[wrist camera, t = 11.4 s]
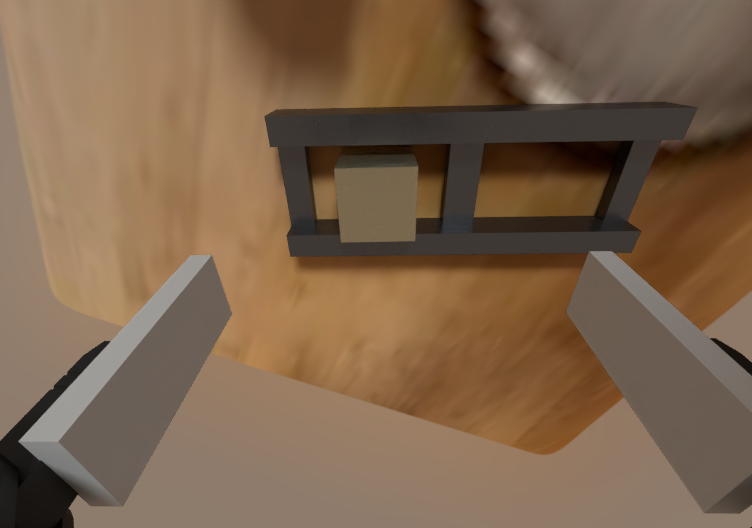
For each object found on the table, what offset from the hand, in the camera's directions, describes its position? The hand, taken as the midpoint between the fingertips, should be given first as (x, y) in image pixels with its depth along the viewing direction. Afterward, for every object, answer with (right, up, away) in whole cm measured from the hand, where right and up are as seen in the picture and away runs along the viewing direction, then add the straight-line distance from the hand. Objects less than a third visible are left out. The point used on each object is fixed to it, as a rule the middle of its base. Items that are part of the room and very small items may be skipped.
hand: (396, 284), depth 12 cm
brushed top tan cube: (-1, +8, +16) cm, 17 cm away
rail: (+6, +8, +15) cm, 18 cm away
